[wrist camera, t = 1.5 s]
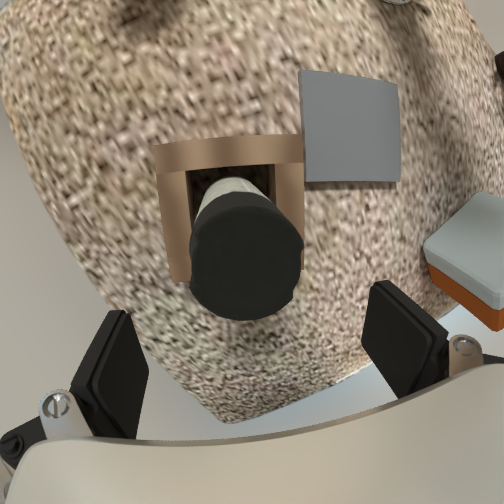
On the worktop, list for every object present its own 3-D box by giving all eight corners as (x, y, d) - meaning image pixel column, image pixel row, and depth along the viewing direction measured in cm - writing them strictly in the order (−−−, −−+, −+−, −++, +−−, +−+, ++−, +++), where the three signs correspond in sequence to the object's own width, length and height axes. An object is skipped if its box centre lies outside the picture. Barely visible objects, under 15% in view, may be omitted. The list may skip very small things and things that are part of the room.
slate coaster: (392, 85, 29) (396, 84, 28) (395, 180, 34) (400, 181, 33) (297, 72, 27) (300, 69, 26) (303, 180, 33) (306, 181, 31)
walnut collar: (290, 136, 30) (302, 134, 26) (292, 253, 36) (303, 269, 31) (163, 146, 29) (153, 145, 24) (177, 264, 35) (172, 282, 30)
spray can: (200, 225, 33) (179, 320, 15) (207, 169, 31) (189, 197, 12) (253, 231, 34) (295, 329, 16) (263, 177, 32) (325, 217, 13)
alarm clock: (428, 281, 41) (505, 345, 22) (417, 244, 38) (511, 305, 19) (484, 226, 39) (560, 265, 20) (477, 188, 36) (563, 220, 17)
